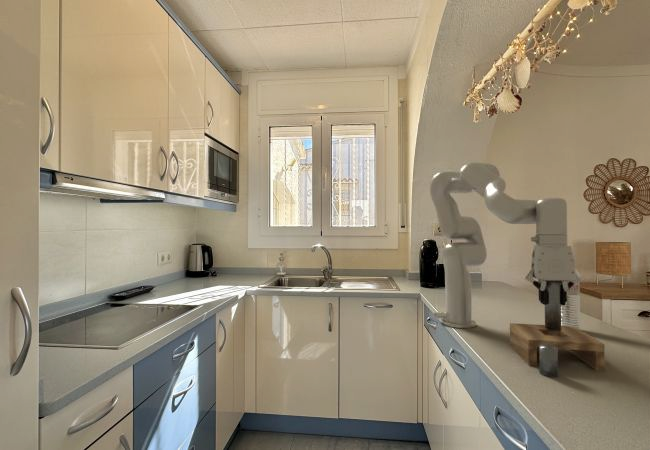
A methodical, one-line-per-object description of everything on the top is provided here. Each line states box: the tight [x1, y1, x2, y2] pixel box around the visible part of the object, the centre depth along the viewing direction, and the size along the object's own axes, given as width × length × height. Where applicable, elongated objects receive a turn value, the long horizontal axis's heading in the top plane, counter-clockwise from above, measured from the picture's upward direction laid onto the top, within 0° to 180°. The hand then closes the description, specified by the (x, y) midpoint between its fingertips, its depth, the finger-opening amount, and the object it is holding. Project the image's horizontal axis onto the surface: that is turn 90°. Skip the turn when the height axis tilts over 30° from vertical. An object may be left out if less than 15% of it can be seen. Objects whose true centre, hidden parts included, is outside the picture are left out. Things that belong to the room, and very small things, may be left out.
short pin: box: [538, 344, 559, 379], centre depth 87 cm, size 4×4×7 cm
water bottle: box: [561, 267, 581, 330], centre depth 124 cm, size 7×7×25 cm
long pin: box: [544, 281, 562, 331], centre depth 98 cm, size 4×4×16 cm
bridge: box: [509, 323, 606, 372], centre depth 99 cm, size 18×16×7 cm
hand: (552, 303), depth 98 cm, fingers closed on long pin, 4 cm apart
